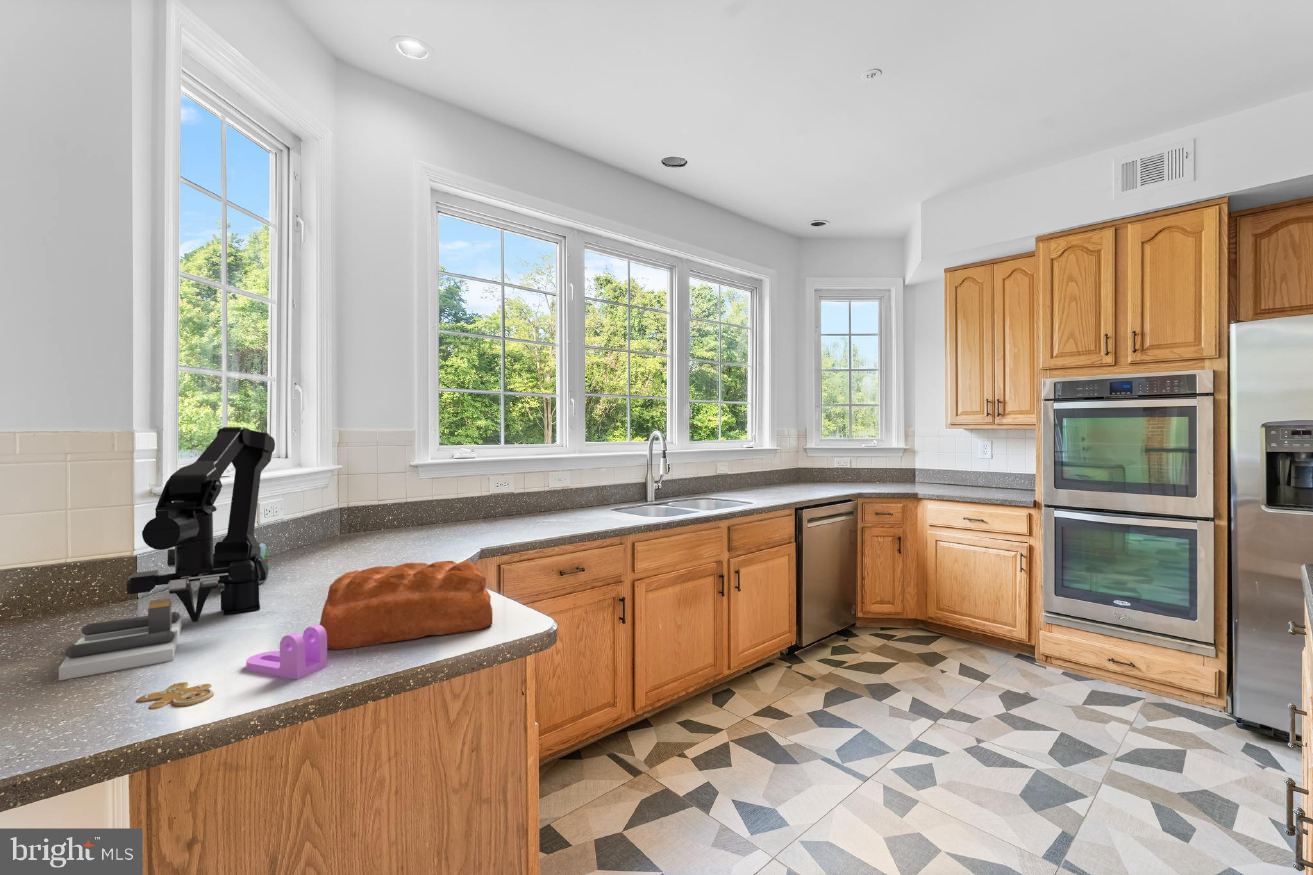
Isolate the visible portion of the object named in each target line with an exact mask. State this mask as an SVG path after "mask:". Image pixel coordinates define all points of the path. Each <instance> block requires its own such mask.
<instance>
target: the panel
mask: <svg viewBox="0 0 1313 875" xmlns="http://www.w3.org/2000/svg"><path fill="white" fill-rule="evenodd" d="M182 627H183V616H182V615H180V613H179V612H177V611H172V629H171V631H162V632H156V633H148V615H143V616H142V615H141V616H136V617H129V618H121V619H115V620H108V621H100V622H93V623H88V624H85V625H83V626H82V628H81V634H82V635H81V636H80V638H79V639H78V640H77V642H75V643H74V644H73V645H70V646H68V647H67V648H66V649H65V651H64V655H65V658H64V660H63V661H62V663H60V665H59V666H58V681H63V680H68V679H69V680H70V679H75V678H81V677H86V676H92V675H93V676H94V675H99V674H104V673H110V672H116V671H120V670H127V669H131V668H137V667H143V666H149V665H154V664H155V665H156V664H161V663H165V662H172V661H174V659H175V655H176V651H177V647H178V642H179V638H180V636H181V635H180V634H181V630H182Z"/></svg>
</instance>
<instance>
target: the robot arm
mask: <svg viewBox="0 0 1313 875" xmlns="http://www.w3.org/2000/svg"><path fill="white" fill-rule="evenodd" d="M275 448H276V442H275V439H274V437H272V436H271V435H270V434H269V433H268V432H267V431H264V432H263V431H261V432H260V431H256V430H252V429H250V428H248V427H244V426H224V427H223V426H222V427H221V428H219V429H218V430H217V433H216V436H215V438H214V439H212V441H211V442H210V444H209V445H208V446H207V448H206V449H204V451H203V452H202V453H201V454H200V455H199V457H198V458H197V459H196V460H195V461H194V462H193V463H191V464H188V465H185V466H183V467H180V468H179V469H178V470H176V471H175V472H174V473H172V474H171V475H170V477H169V478H168V480H167V481H166V482H165V485H164V487H163V489H162V492H161V494H160V496H159V499H158V502H157V505H156V507H155V509H154V510H155V517H154V518H152V519H150V520H148V521H147V523H146V524H145V525H144V527H143V530H142V531H141V536H142V539H143V542H144V543H145V544H146V545H147V546H148V547H149V548H151V549H154V550H158V551H163V550H167V558H166V559H167V564H166V565H167V567H168V568H172V567H173V568H174V573H164V574H159V570H147V571H139V572H137V571H136V572H133V573H132V574H131V575H130V576H129V577H128V580H127V581H126V594H127V595H134V594H145V593H150V592H151V591H152V590H154V589H155V588H156V586H165V585H168V587H169V590H168V594H170V595H174V594H175V595H176V596H177V598H178V599H179V600H180V602H181V603H182V604H183V606H184V608H185V610H186V612H187V614H188V617H190V620H191V622H192V623H198V621H199V620H200V616H201V614H202V611H203V608H204V605H205V603H206V601H207V599H208V598H209V595H210V594H211V592H212V590H213V589H218V588H219V585H220V584H224V587H223V588H221V589H220V611H223V615H230V614H237V613H244V612H251V611H252V612H253V611H258V610H261V604H260V584H259V582H260V581H263V580H265V581H266V580H267V579H268V578H267V575H268V567H267V565H266V563H265V561H264V560H263V558H262V556H261V555H260V554H261V548H260V546H259V544H258V543H257V542H258V541H257V539H256V537H255V536H254V535H255V527H256V526H255V524H256V520H257V519H256V517H257V509H258V499H259V494H260V493H259V492H260V486H261V485H260V484H261V476H262V472H263V470H265V468H266V467H267V466H268V464H269V463H270V462H271V461H272V455H273V452H274V451H275ZM231 464H232V466H233V467H234V469H235V470H234V471H235V472H234V479H233V487H232V494H231V502H230V510H229V518H228V524H227V525H228V526H227V533H226V535H225V537H223V539H222V540H221V541H217V542H216V543H215V545H214V521H213V520H214V519H213V518H214V516H213V515H214V514H213V513H214V512H216V511H217V510H218V508H217V506H215V503H216V500H217V498H218V497H219V495H220V493H221V492H222V488H223V484H222V481H221V477H222V475H224V472H225V471H226V470H227V469H228V467H229V466H230V465H231ZM171 548H172V549H171ZM173 548H174V549H173ZM197 581H199V586H198V587H199V588H198V593H197V600H196V606H195V603H194V598H193V592H192V591H193V590H192V582H197Z"/></svg>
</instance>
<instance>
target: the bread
mask: <svg viewBox="0 0 1313 875" xmlns="http://www.w3.org/2000/svg"><path fill="white" fill-rule="evenodd" d="M486 581H487V580H486V577H485V576H484V574H483V571H482V570H481V569H480V567H478V566H477V565H475V563H473V562H471V561H468V560H462V561H460V562H458V563H457V562H455V561H453V560H442V561H434V562H432V563H431V564H428V563H425V562H406V563H402V564H399V565H396V566H393V565H390V566H389V565H388V566H387V565H386V566H385V565H382V566H381V565H380V566H373V567H370V568H365V569H362V570H354V571H353V570H352V571H349V572H345V573H344V574H342V575H341V576H339V577H338V578H336V579H334V581H333V583H332V584H330V585H329V587H328V592H327V598H326V600H325V603H324V605H323V608H322V612H321V617H320V621H319V623H318V624H319V625H321V626H323V627H324V629H325V630H326V633H327V649H332V650H343V649H344V650H346V649H353V648H359V647H360V648H361V647H367V646H373V645H379V644H387V643H394V642H400V641H401V642H402V641H408V640H415V639H420V638H423V637H426V636H441V635H450V634H451V635H454V634H460V633H466V632H472V631H478V630H481V629H484V628H488V627H490V626H491V625H493V607H492V603H491V598H492V596H491V594H490V593H489V591H488V589H487V587H486V585H487V584H486V583H487V582H486Z"/></svg>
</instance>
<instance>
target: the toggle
mask: <svg viewBox="0 0 1313 875" xmlns="http://www.w3.org/2000/svg"><path fill="white" fill-rule="evenodd" d="M172 610H173V608H172V598H171V597H165V598H158V599H152V600H150V602H149V605H148V609H147V616H148V633H156V632H162V631H171V629H172V612H173V611H172Z"/></svg>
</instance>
